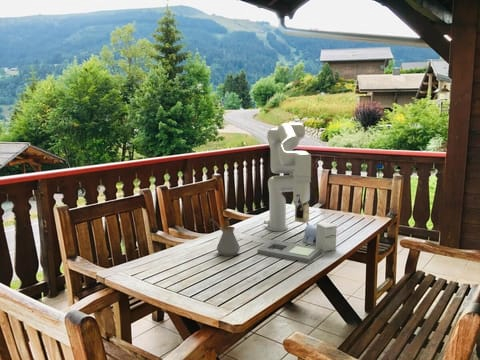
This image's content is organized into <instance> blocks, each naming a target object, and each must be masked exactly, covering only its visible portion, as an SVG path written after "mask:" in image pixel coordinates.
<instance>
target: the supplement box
mask: <svg viewBox="0 0 480 360" xmlns="http://www.w3.org/2000/svg"><path fill="white" fill-rule="evenodd" d="M316 225H317V229H316V240H315V248H319V249H321V252H328V251H335V250H336V249H337V247H336V246H337V229H338V228H337V225H336V224H333V223H330V222H324V223H323V222H321V223H316Z"/></svg>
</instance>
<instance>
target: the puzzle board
mask: <svg viewBox="0 0 480 360" xmlns="http://www.w3.org/2000/svg"><path fill="white" fill-rule="evenodd" d="M274 248H275V249H274ZM256 250H257V254H259V255H263V256H264V255H265V256H270V257H275V258H279V259H280V258H281V259H284V260H290V259H292V260H291V261H295V260H298V261H297V262H301V261H303V262H302V263H306V262H307V264H310V263H311V262H313V260H315V259H316V258H317V257H318V256H319V255H320V254H322V250H321V249H319V248H316V247H312V246H306V245H299V244H294V243H290V242H289V243H288V242H283V241H278V240H277V241H276V240H271V241H268V242H267V243H266V244H264V245H262V246H261V247H259V248H257V249H256ZM314 258H315V259H314Z"/></svg>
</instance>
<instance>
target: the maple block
mask: <svg viewBox="0 0 480 360" xmlns="http://www.w3.org/2000/svg"><path fill="white" fill-rule="evenodd" d="M300 207H301V205H300ZM294 208H295V209H294V222H296V223H297V222H298V223H306V222H308V221H309V219H310V203H308V204H303V208H302V210H303V218H296V206H295V205H294Z"/></svg>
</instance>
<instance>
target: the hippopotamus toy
mask: <svg viewBox="0 0 480 360" xmlns="http://www.w3.org/2000/svg"><path fill="white" fill-rule="evenodd" d="M305 223H306V226H305V229H304V234H303V237H302V238H301V242H303V243H306V244H308V245H313V244H314V241H316V229H317V224H310V223H309V222H308V221H307V222H305Z"/></svg>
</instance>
